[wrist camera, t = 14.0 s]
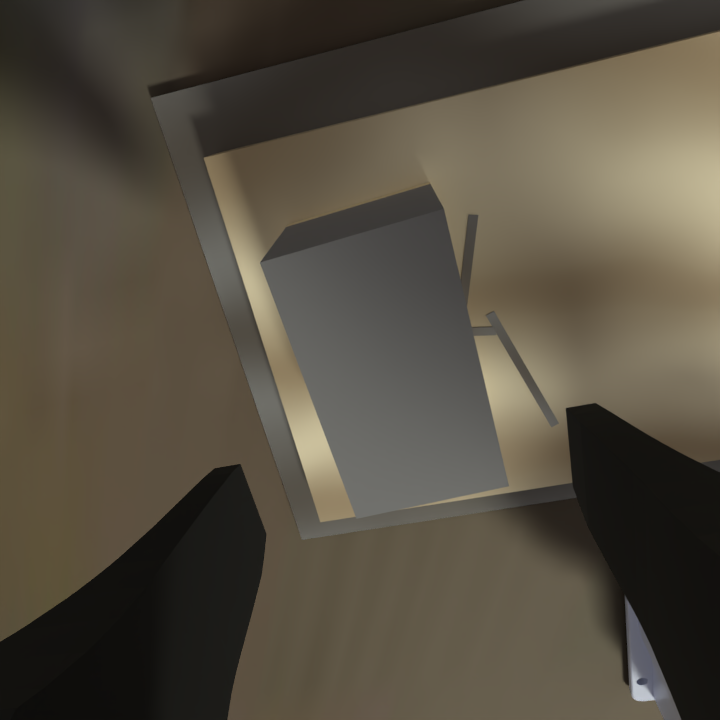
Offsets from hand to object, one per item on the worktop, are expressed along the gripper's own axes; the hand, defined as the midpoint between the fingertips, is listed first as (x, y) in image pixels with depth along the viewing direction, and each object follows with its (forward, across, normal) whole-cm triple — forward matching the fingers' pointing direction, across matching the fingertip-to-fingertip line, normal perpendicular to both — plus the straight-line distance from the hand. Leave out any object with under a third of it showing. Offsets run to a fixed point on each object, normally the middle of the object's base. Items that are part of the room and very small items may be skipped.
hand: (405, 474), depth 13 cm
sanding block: (+8, 0, -1) cm, 8 cm away
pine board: (+9, -6, 0) cm, 11 cm away
